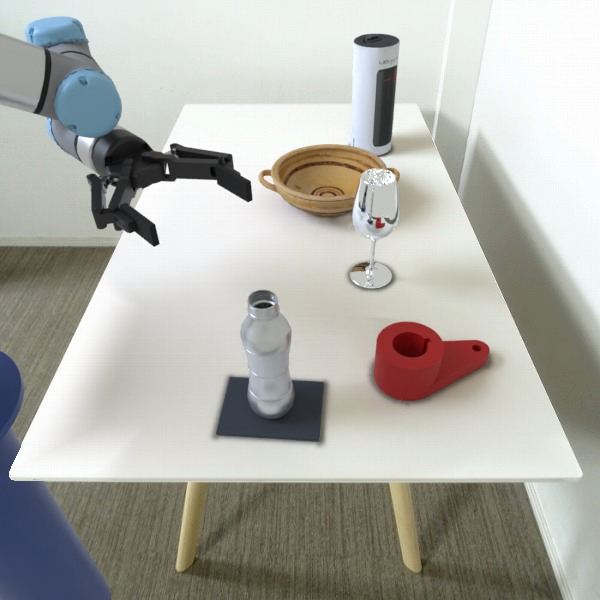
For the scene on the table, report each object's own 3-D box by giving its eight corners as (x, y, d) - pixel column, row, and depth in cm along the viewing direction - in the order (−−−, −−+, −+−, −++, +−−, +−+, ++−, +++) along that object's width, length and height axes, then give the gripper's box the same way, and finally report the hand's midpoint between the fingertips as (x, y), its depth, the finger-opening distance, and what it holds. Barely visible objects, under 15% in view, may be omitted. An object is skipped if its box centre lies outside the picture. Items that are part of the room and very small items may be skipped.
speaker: (360, 160, 134) (366, 47, 116) (342, 143, 141) (345, 34, 124) (398, 152, 136) (409, 40, 119) (378, 135, 144) (386, 28, 127)
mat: (216, 434, 75) (215, 432, 74) (230, 378, 82) (229, 376, 82) (319, 441, 73) (319, 439, 73) (323, 383, 81) (323, 381, 81)
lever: (388, 407, 77) (392, 376, 73) (364, 360, 84) (366, 329, 80) (502, 378, 81) (512, 346, 76) (469, 335, 88) (477, 304, 83)
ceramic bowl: (391, 174, 128) (394, 142, 123) (403, 233, 110) (407, 198, 104) (264, 176, 129) (262, 144, 124) (256, 234, 111) (252, 200, 105)
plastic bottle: (277, 380, 81) (269, 274, 68) (304, 410, 77) (301, 303, 64) (240, 402, 78) (223, 295, 65) (266, 433, 74) (255, 326, 61)
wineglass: (340, 275, 100) (343, 176, 87) (369, 257, 104) (376, 160, 91) (372, 295, 96) (380, 194, 82) (401, 276, 99) (413, 176, 86)
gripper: (194, 151, 86) (284, 201, 74) (39, 211, 73) (117, 284, 61) (186, 103, 81) (282, 149, 69) (18, 159, 68) (99, 227, 56)
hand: (204, 212), depth 65 cm, fingers open, 13 cm apart
